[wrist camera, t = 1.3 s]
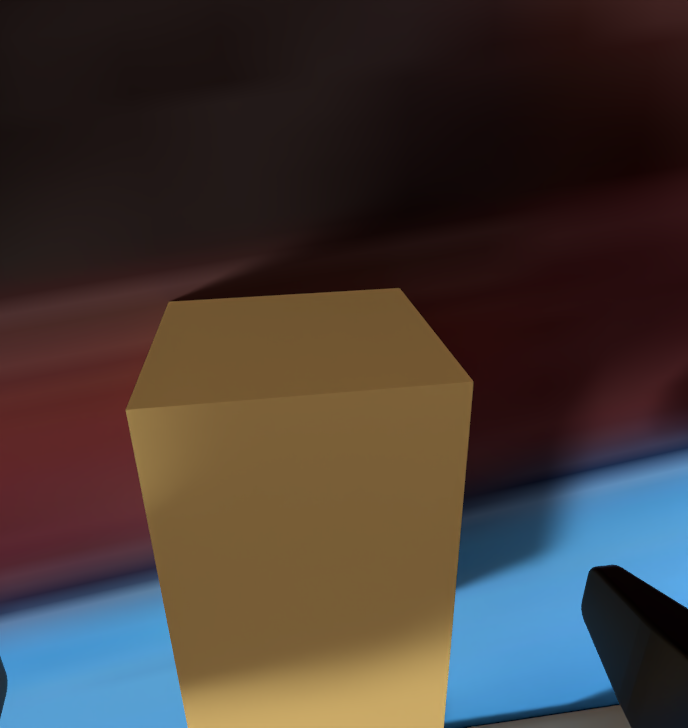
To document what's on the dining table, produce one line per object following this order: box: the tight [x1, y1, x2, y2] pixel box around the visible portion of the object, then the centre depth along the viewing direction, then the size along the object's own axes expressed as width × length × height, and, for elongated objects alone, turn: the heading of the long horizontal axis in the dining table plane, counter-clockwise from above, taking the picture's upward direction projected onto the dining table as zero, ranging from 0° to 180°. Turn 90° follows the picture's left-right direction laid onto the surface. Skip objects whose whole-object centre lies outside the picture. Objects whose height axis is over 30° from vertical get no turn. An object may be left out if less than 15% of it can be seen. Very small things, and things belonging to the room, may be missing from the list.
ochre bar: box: [126, 288, 473, 728], centre depth 10 cm, size 8×4×4 cm, turn 0°
